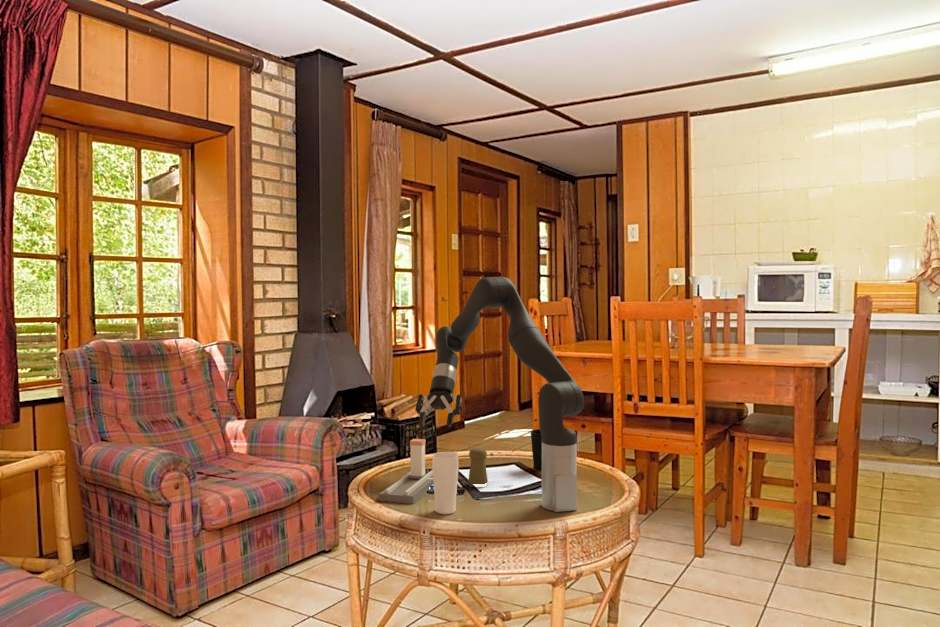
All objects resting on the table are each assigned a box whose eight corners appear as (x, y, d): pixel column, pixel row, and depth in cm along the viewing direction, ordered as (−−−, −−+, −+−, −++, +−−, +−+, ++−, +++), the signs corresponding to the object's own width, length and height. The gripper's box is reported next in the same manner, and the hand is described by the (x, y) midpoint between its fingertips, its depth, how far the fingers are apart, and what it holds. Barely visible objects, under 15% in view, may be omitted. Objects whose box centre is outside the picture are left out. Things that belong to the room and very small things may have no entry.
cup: (525, 468, 229) (525, 431, 228) (541, 464, 234) (541, 428, 233) (543, 472, 223) (543, 435, 222) (559, 468, 228) (559, 431, 227)
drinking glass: (430, 515, 181) (430, 457, 181) (435, 507, 188) (434, 451, 187) (456, 516, 180) (456, 458, 180) (460, 508, 187) (460, 452, 186)
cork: (488, 488, 206) (488, 450, 205) (467, 488, 206) (467, 450, 205) (488, 482, 212) (488, 446, 211) (467, 482, 212) (468, 445, 212)
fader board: (408, 478, 216) (408, 468, 216) (440, 480, 214) (440, 470, 214) (378, 500, 193) (378, 490, 193) (413, 503, 191) (413, 492, 191)
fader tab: (413, 474, 212) (413, 438, 211) (426, 475, 211) (426, 439, 210) (409, 478, 208) (409, 441, 208) (422, 478, 207) (422, 442, 206)
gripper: (419, 374, 226) (409, 419, 216) (462, 374, 222) (454, 419, 213) (425, 387, 232) (416, 431, 222) (467, 387, 228) (460, 431, 218)
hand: (435, 425), depth 217 cm, fingers open, 8 cm apart
